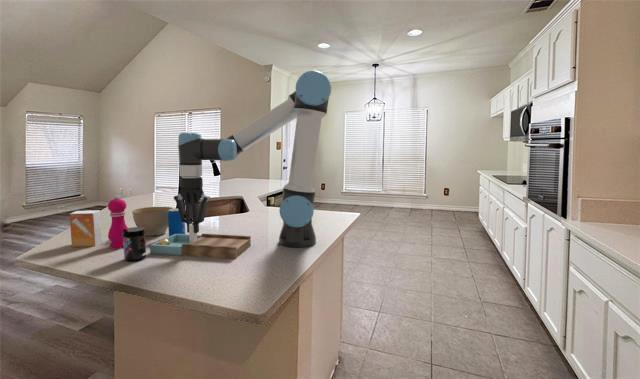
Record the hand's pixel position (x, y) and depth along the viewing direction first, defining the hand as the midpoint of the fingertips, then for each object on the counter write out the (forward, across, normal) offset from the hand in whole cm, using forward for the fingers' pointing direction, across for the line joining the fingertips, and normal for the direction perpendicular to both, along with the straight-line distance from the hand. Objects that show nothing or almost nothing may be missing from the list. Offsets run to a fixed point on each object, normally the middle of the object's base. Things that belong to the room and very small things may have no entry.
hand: (193, 241), depth 119 cm
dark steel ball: (+2, +5, -8) cm, 9 cm away
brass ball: (+2, +12, 0) cm, 12 cm away
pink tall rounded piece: (+5, +32, -2) cm, 32 cm away
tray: (+4, +8, -4) cm, 10 cm away
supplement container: (+5, +16, +10) cm, 19 cm away
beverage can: (+5, +18, -18) cm, 26 cm away
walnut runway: (+4, -8, -4) cm, 9 cm away
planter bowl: (+5, +30, -22) cm, 38 cm away
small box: (+5, +46, -2) cm, 46 cm away
